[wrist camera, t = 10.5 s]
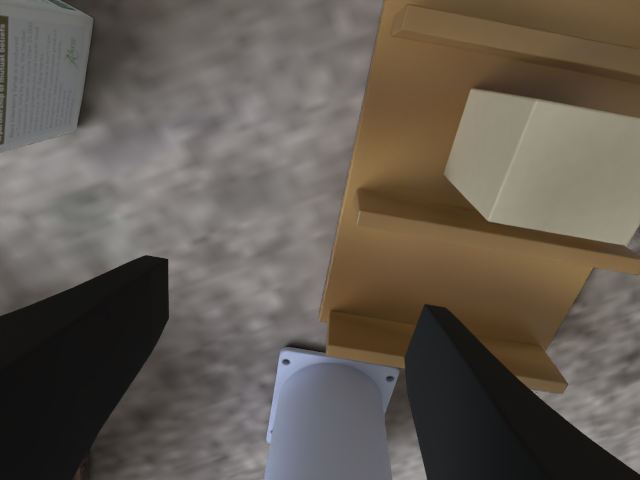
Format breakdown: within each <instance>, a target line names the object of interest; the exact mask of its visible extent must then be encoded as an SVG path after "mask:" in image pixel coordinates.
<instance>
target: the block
mask: <svg viewBox="0 0 640 480" xmlns="http://www.w3.org/2000/svg"><path fill="white" fill-rule="evenodd" d="M443 174H444V176H445V177H446V178H447V179H448V180H449V181H450V182H451V183H452V184H453V185H454V186H455V187H456V188H457V189H458V190H459V191H460V192H461V193H462V195H463V196H464V197H465V198H466V199H467V200H468V201H469V202H470V203H471V204H472V205H473V206H474V207H475V208H476V209H477V210H478V211H479V212H480V213H481V214H482V215H483V216H484V217H485V219H486V220H487V221H489V222H494V223H500V224H506V225H511V226H517V227H523V228H528V229H534V230H540V231H545V232H551V233H557V234H562V235H568V236H574V237H579V238H585V239H591V240H596V241H602V242H608V243H613V244H619V245H628V243H629V242H630V240H631V238H632V237H633V235H634V233H635V232H636V230H637V228H638V227H639V225H640V118H637V117H631V116H626V115H621V114H616V113H610V112H605V111H600V110H594V109H589V108H584V107H578V106H573V105H568V104H562V103H557V102H552V101H546V100H541V99H536V98H530V97H524V96H518V95H512V94H506V93H500V92H494V91H488V90H482V89H476V88H472V89H471V90H470V93H469V96H468V99H467V102H466V105H465V109H464V112H463V115H462V118H461V121H460V124H459V127H458V130H457V133H456V136H455V139H454V143H453V146H452V149H451V152H450V155H449V158H448V161H447V164H446V167H445V170H444V173H443Z"/></svg>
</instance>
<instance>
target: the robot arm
mask: <svg viewBox="0 0 640 480" xmlns="http://www.w3.org/2000/svg"><path fill="white" fill-rule="evenodd" d="M168 319H169V293H168V259H165V258H159V257H153V256H148V255H145V256H142V257H140V258H137V259H135V260H133V261H130V262H128V263H126V264H124V265H121V266H119V267H117V268H115V269H113V270H111V271H108V272H106V273H104V274H102V275H100V276H97V277H95V278H93V279H91V280H89V281H86V282H84V283H82V284H80V285H78V286H75V287H73V288H71V289H68V290H66V291H63V292H61V293H59V294H56V295H54V296H51V297H49V298H46V299H44V300H42V301H39V302H37V303H34V304H32V305H29V306H27V307H24V308H22V309H19V310H16V311H14V312H11V313H8V314H5V315H2V316H0V480H73V478H74V476H75V474H76V472H77V471H78V469H79V467H80V465H81V463H82V461H83V459H84V458H85V456H86V454H87V452H88V450H89V448H90V447H91V445H92V443H93V441H94V440H95V438H96V436H97V435H98V433H99V431H100V430H101V428H102V427H103V425H104V423H105V422H106V420H107V419H108V417H109V416H110V414H111V413H112V411H113V410H114V408H115V407H116V405H117V404H118V402H119V401H120V399H121V398H122V396H123V395H124V393H125V392H126V390H127V389H128V387H129V386H130V384H131V383H132V381H133V380H134V379H135V377H136V376H137V374H138V372H139V371H140V369H141V368H142V366H143V365H144V363H145V362H146V360H147V359H148V357H149V356H150V354H151V353H152V351H153V349H154V347H155V346H156V344H157V342H158V340H159V338H160V336H161V334H162V331H163V329H164V327H165V325H166V323H167V321H168ZM284 359H288V360H289V361H286V360H284ZM404 361H405V374H406V384H407V392H408V397H409V402H410V406H411V411H412V415H413V420H414V424H415V428H416V432H417V437H418V441H419V445H420V450H421V454H422V458H423V463H424V467H425V471H426V476H427V480H640V474H638V473H637V472H635V471H634V470H632V469H631V468H630V467H628V466H627V465H625V464H624V463H623V462H621V461H620V460H618V459H617V458H616V457H614V456H613V455H611V454H610V453H609V452H607V451H606V450H604V449H603V448H602V447H600V446H599V445H598V444H596V443H595V442H594V441H592V440H591V439H590V438H588V437H587V436H586V435H584V434H583V433H582V432H580V431H579V430H578V429H577V428H575V427H574V426H573V425H572V424H570V423H569V422H568V421H567V420H565V419H564V418H563V417H562V416H561V415H559V414H558V413H557V412H556V411H554V410H553V409H552V408H551V407H549V406H548V405H547V404H546V403H545V402H544V401H542V400H541V399H540V398H539V397H538V396H537V395H535V394H534V393H533V392H532V391H531V390H530V389H529V388H528V387H527V386H526V385H525V384H523V383H522V382H521V381H520V380H519V379H518V378H517V377H516V376H515V375H514V374H513V373H511V372H510V371H509V370H508V369H507V368H506V367H505V366H504V365H503V364H502V363H501V362H500V361H499V360H498V359H497V358H496V357H495V356H494V355H493V354H492V353H491V352H490V351H489V350H488V349H487V348H486V347H485V346H484V345H483V344H482V343H481V342H480V341H479V340H478V339H477V338H476V337H475V336H474V335H473V334H472V333H471V332H470V331H469V330H468V329H467V328H466V327H465V326H464V325H463V323H462V322H461V321H460V320H459V319H458V318H457V317H456V316H454V315H453V314H452V313H451V312H450V311H449V310H448V309H447V308H446V307H440V306H435V305H429V304H424V306H423V309H422V312H421V314H420V317H419V320H418V322H417V325H416V328H415V330H414V333H413V336H412V338H411V341H410V344H409V346H408V349H407V352H406V354H405V357H404ZM388 376H392V377H388ZM398 376H399V368H398V367H392V366H386V365H380V364H374V363H368V362H362V361H356V360H350V359H343V358H337V357H331V356H326V353H323V352H317V351H311V350H304V349H298V348H292V347H284V348H282V349H281V351H280V356H279V363H278V369H277V375H276V381H275V388H274V394H273V400H272V407H271V413H270V419H269V425H268V432H267V438H266V440H267V442H268V443H269V444H270V448H269V454H268V459H267V465H266V470H265V476H264V480H392V473H391V465H390V457H389V449H388V442H387V434H386V426H385V418H384V415H385V412H386V410H387V407H388V404H389V401H390V398H391V396H392V393H393V390H394V387H395V384H396V382H397V379H398Z"/></svg>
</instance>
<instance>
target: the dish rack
mask: <svg viewBox="0 0 640 480" xmlns="http://www.w3.org/2000/svg"><path fill="white" fill-rule="evenodd" d="M472 88H476V89H482V90H488V91H494V92H500V93H506V94H512V95H518V96H524V97H530V98H536V99H541V100H546V101H552V102H557V103H562V104H568V105H573V106H578V107H584V108H589V109H594V110H600V111H605V112H610V113H616V114H621V115H626V116H631V117H637V118H640V0H384V1H383V6H382V11H381V15H380V20H379V25H378V30H377V35H376V40H375V44H374V49H373V54H372V59H371V64H370V69H369V73H368V78H367V83H366V88H365V93H364V98H363V102H362V107H361V112H360V117H359V122H358V127H357V131H356V136H355V141H354V146H353V151H352V156H351V160H350V165H349V170H348V175H347V180H346V185H345V189H344V194H343V199H342V204H341V209H340V214H339V218H338V223H337V228H336V233H335V238H334V243H333V247H332V252H331V257H330V262H329V267H328V272H327V276H326V281H325V286H324V291H323V296H322V301H321V305H320V310H319V321H320V322H326V323H327V336H326V356H331V357H337V358H343V359H350V360H356V361H362V362H368V363H374V364H380V365H386V366H392V367H399V368H405V361H404V357H405V354H406V352H407V349H408V346H409V344H410V341H411V338H412V336H413V333H414V330H415V328H416V325H417V322H418V320H419V317H420V314H421V312H422V309H423V306H424V304H429V305H435V306H440V307H446V308H447V309H448V310H449V311H450V312H451V313H452V314H453V315H454V316H456V317H457V318H458V319H459V320H460V321H461V322H462V323H463V325H464V326H465V327H466V328H467V329H468V330H469V331H470V332H471V333H472V334H473V335H474V336H475V337H476V338H477V339H478V340H479V341H480V342H481V343H482V344H483V345H484V346H485V347H486V348H487V349H488V350H489V351H490V352H491V353H492V354H493V355H494V356H495V357H496V358H497V359H498V360H499V361H500V362H501V363H502V364H503V365H504V366H505V367H506V368H507V369H508V370H509V371H510V372H511V373H513V374H514V375H515V376H516V377H517V378H518V379H519V380H520V381H521V382H522V383H523V384H525V385H526V386H527V387H528V388H529V389H533V390H539V391H546V392H552V393H558V394H562V393H563V392H564V390H565V389H566V387H567V386H568V383H567V382H566V380H565V379H564V377H563V376H562V375H561V373H560V372H559V370H558V369H557V368H556V366H555V365H554V364H553V362H552V361H551V359H550V358H549V357H548V355H547V354H546V350H547V348H548V346H549V345H550V343H551V341H552V339H553V338H554V336H555V334H556V332H557V331H558V329H559V327H560V325H561V324H562V322H563V320H564V318H565V317H566V315H567V313H568V311H569V310H570V308H571V306H572V305H573V303H574V301H575V299H576V298H577V296H578V294H579V292H580V291H581V289H582V287H583V285H584V284H585V282H586V280H587V278H588V277H589V275H590V273H591V271H592V270H593V268H600V269H606V270H611V271H617V272H623V273H629V274H634V275H639V274H640V256H639V255H638V254H636V253H635V252H633V251H631V250H630V249H628V248H627V247H625V246H624V245H619V244H613V243H608V242H602V241H596V240H591V239H585V238H579V237H574V236H568V235H562V234H557V233H551V232H545V231H540V230H534V229H528V228H523V227H517V226H511V225H506V224H500V223H494V222H489V221H487V220H486V219H485V217H484V216H483V215H482V214H481V213H480V212H479V211H478V210H477V209H476V208H475V207H474V206H473V205H472V204H471V203H470V202H469V201H468V200H467V199H466V198H465V197H464V196H463V195H462V193H461V192H460V191H459V190H458V189H457V188H456V187H455V186H454V185H453V184H452V183H451V182H450V181H449V180H448V179H447V178H446V177H445V176H444V174H443V173H444V170H445V167H446V164H447V161H448V158H449V155H450V152H451V149H452V146H453V143H454V139H455V136H456V133H457V130H458V127H459V124H460V121H461V118H462V115H463V112H464V109H465V105H466V102H467V99H468V96H469V93H470V90H471V89H472Z"/></svg>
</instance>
